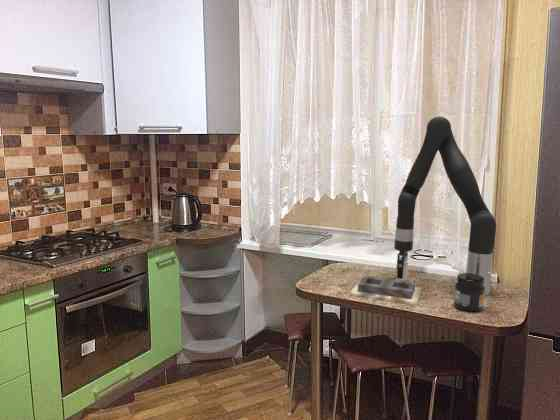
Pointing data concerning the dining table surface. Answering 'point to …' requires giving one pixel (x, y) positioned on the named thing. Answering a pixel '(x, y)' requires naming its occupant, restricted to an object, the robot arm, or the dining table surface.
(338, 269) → the dining table surface
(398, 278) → the white rectangular block
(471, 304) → the supplement container
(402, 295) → the socket board
